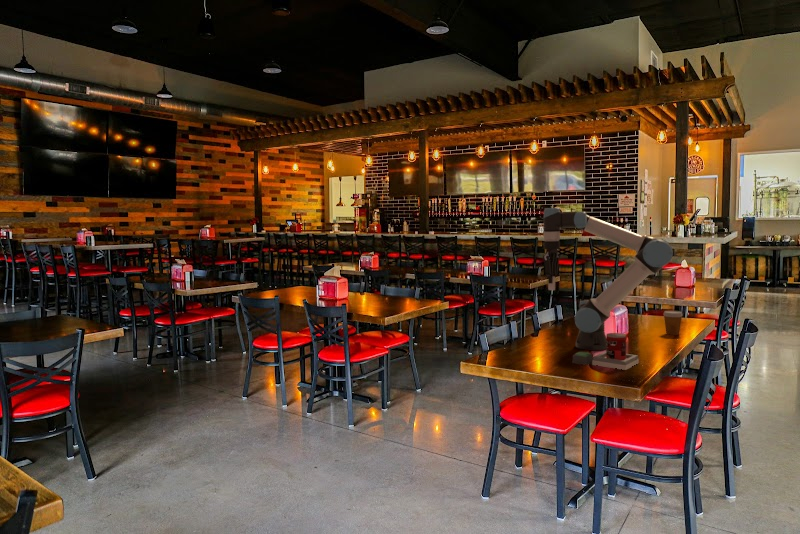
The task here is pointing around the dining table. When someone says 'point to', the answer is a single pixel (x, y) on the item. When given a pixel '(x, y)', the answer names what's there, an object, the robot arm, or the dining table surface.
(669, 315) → the disposable coffee cup
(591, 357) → the button base
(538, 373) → the dining table surface
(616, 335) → the canned food
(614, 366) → the pocket plate
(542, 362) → the dining table surface
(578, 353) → the button
